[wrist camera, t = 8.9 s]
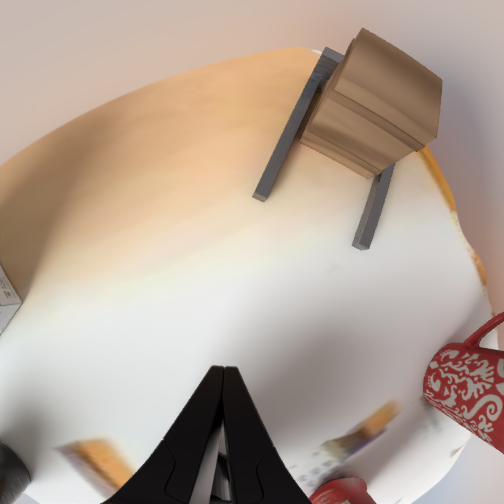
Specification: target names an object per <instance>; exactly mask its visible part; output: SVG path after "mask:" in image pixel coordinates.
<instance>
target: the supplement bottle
mask: <svg viewBox="0 0 504 504" xmlns="http://www.w3.org/2000/svg"><path fill="white" fill-rule="evenodd" d="M29 483H30V478H29V474H28V472H27V470H26V468H25V466H24V465H23V463H22V462H21V461H20V459H19V458H18V457H17V456H16V455H15V454H14V453H13V452H12V451H11V450H10V449H8V448H7V447H6V446H4V445H2V444H0V504H13V503H14V502H15V501H16V500H17V499H18V498H19V496H20V495H21V494H22V493H23V492H24V491H25V489H26V488H27V487H28V485H29Z"/></svg>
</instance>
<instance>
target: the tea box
mask: <svg viewBox="0 0 504 504" xmlns="http://www.w3.org/2000/svg"><path fill="white" fill-rule="evenodd" d="M21 304H22V301H21V300H20V298H19V296H18V295H17V293H16V291H15V290H14V288H13V287H12V285H11V283H10V281H9V280H8V278H7V276H6V274H5V273H4V271H3V269H2V267H1V265H0V334H1V332H2V331H3V330H4V328H5V327H6V325H7V324H8V322H9V321H10V320H11V318H12V317H13V315H14V314H15V312H16V311H17V310H18V308H19V307H20V305H21Z"/></svg>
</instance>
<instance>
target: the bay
mask: <svg viewBox="0 0 504 504" xmlns="http://www.w3.org/2000/svg"><path fill="white" fill-rule="evenodd" d="M343 57H344V55H342V54H340V53H338V52H336V51H334V50H332V49H330V48H327V47H325V49H324V51H323V53H322V55H321V57H320V58H319V60H318V62H317V64H316V66H315V68H314V70H313V72H312V74H311V76H310V78H309V80H308V82H307V84H306V86H305V88H304V90H303V92H302V94H301V96H300V98H299V100H298V102H297V104H296V106H295V108H294V110H293V112H292V114H291V116H290V118H289V120H288V123H287V125H286V127H285V129H284V131H283V133H282V135H281V137H280V139H279V141H278V143H277V145H276V147H275V150H274V152H273V154H272V156H271V158H270V160H269V162H268V164H267V166H266V169H265V171H264V173H263V175H262V177H261V179H260V181H259V183H258V186H257V188H256V190H255V192H254V194H253V196H252V197H253V198H256V199H258V200H260V201H262V202H264V201H265V200H266V198H267V196H268V194H269V192H270V189H271V187H272V185H273V183H274V181H275V178H276V176H277V174H278V172H279V170H280V167H281V165H282V163H283V161H284V159H285V156H286V154H287V152H288V150H289V148H290V146H291V143H292V141H293V139H294V137H295V135H296V132H297V130H298V128H299V126H300V124H301V122H302V119H303V117H304V115H305V113H306V111H307V109H308V106H309V104H310V102H311V100H312V98H313V96H314V93H315V91H316V90H317V91H319V92H322V90H323V87H324V85H325V83H326V82H327V80H329V79H330V78H331V76H332V75H333V73H334V71H335V70H336V68H337V67H338V65H339V63H340V62H341V60H342V59H343ZM394 166H395V163H393V164H392V165H390V166H388V167H387V168H385V169H383V171H382V173H380V174H378V175H377V176H376V175H375V178H374V181H373V184H372V187H371V190H370V194H369V197H368V200H367V203H366V206H365V209H364V212H363V215H362V218H361V221H360V223H359V226H358V229H357V232H356V235H355V238H354V240H353V243H352V246H354V247H356V248H358V249H359V250H367V249H369V247H370V244H371V242H372V239H373V236H374V233H375V230H376V227H377V224H378V220H379V217H380V214H381V211H382V208H383V204H384V201H385V198H386V194H387V191H388V188H389V184H390V180H391V177H392V173H393V169H394Z"/></svg>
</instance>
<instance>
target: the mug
mask: <svg viewBox="0 0 504 504" xmlns="http://www.w3.org/2000/svg"><path fill="white" fill-rule="evenodd" d="M503 321H504V312H503V313H500V314H498V315H497V316H495V317H494V318H492V319H491V320H489V321H488V322H487V323H485V324H484V325H483V326H482V327H480V328H479V329H478V330H477V331H476V332H475V333H473V334H472V335H471V336H470V337H469V338H468V339H466V340H465V341H464V343H451V344H448V345H446V346H445V347H443V348H442V349H441V350H440V351H439V352H438V353H437V354H436V355H435V356H434V358H433V359H432V361H431V363H430V364H429V366H428V368H427V371H426V374H425V377H424V382H423V393H424V396H425V399H426V400H427V401H428V402H429V403H430V404H431V405H432V406H434V407H435V408H437V409H438V410H440V411H441V412H443V413H444V414H446V415H447V416H449V417H450V418H451V419H453V420H454V421H456V422H457V423H458V424H460V425H461V426H463V427H465V428H466V429H468V430H469V431H470V432H472V433H473V434H475V435H476V436H478V437H479V438H481V439H482V440H484V441H485V442H487V443H488V444H490V445H491V446H493V447H494V448H496V449H497V450H499V451H500V452H502V453H503V454H504V351H500V350H494V349H488V348H482V347H479V343H480V341H481V339H482V338H483V337H484V336H485V335H486V334H487V333H489V332H490V331H491V330H492V329H494V328H495V327H496V326H497V325H499V324H500V323H502V322H503Z"/></svg>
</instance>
